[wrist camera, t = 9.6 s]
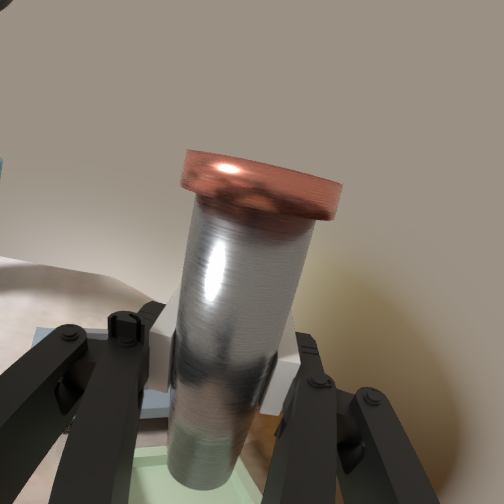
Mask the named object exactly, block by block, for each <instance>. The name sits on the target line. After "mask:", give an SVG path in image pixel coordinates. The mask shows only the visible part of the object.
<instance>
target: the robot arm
mask: <svg viewBox="0 0 504 504" xmlns="http://www.w3.org/2000/svg"><path fill="white" fill-rule="evenodd" d="M12 2H13V0H0V14H1V13H2V12H3V11H5V10H6V9H7V8H8V7H9V6H10V5H11V4H12ZM2 164H3V160H2V159H1V158H0V177H1V170H2ZM180 289H181V284H180V285H179V287H178V288H177V290H176V291H175V293H174V294H173V296H172V297H171V299H170V300H169V302H168V303H167V305H166V304H162V303H158V302H155V301H151V302H149V303H147V304H144V305H143V306H142V308H141V309H140V310H139V312H138V313H134V312H130V311H118V312H115V313H112V314H111V315H110V316H109V317H108V339H107V340H98V339H90V338H87V333H86V331H85V330H84V329H83V328H82V327H80V326H78V325H74V324H65V325H61V326H59V327H57V328H56V329H54V330H53V331H52V332H51V333H49V334H48V335H47V336H46V337H44V338H43V339H42V340H41V341H40V342H38V343H37V344H36V345H35V346H34V347H32V348H31V349H30V350H29V351H28V352H26V353H25V354H24V355H23V356H22V357H21V358H19V359H18V360H17V361H16V362H15V363H14V364H12V365H11V366H10V367H9V368H8V369H7V370H6V371H4V372H3V373H2V374H1V375H0V504H13V502H14V500H15V499H16V497H17V496H18V494H19V493H20V492H21V490H22V489H23V487H24V486H25V484H26V483H27V481H28V480H29V478H30V477H31V475H32V474H33V473H34V471H35V470H36V468H37V467H38V465H39V464H40V463H41V461H42V460H43V458H44V457H45V456H46V454H47V453H48V451H49V450H50V449H51V447H52V446H53V445H54V443H55V442H56V440H57V439H58V438H59V436H60V435H61V434H62V432H63V431H64V430H65V428H66V427H67V426H68V424H69V423H70V422H71V420H72V419H73V418H74V416H75V418H74V421H73V424H72V426H71V429H70V432H69V435H68V438H67V441H66V444H65V447H64V450H63V453H62V456H61V459H60V463H59V466H58V469H57V473H56V476H55V480H54V483H53V487H52V491H51V495H50V499H49V503H48V504H128V500H129V490H130V482H131V473H132V466H133V458H134V451H135V445H136V438H137V432H138V426H139V420H140V415H141V409H142V404H143V398H144V386H145V384H146V382H147V380H148V388H149V389H153V390H156V391H160V392H163V393H167V392H168V389H169V387H170V384H171V373H172V361H173V350H174V340H175V331H176V321H177V313H178V305H179V297H180ZM282 407H283V417H282V419H281V421H280V424H279V426H278V428H277V430H276V432H275V434H274V436H277V437H276V442H275V446H274V451H273V455H272V460H271V464H270V468H269V473H268V477H267V481H266V485H265V489H264V493H263V497H262V501H261V504H335V492H336V474H337V477H338V481H339V485H340V489H341V492H342V497H343V500H344V504H440V503H439V501H438V499H437V497H436V494H435V492H434V490H433V488H432V486H431V484H430V482H429V479H428V477H427V475H426V473H425V471H424V469H423V467H422V465H421V463H420V461H419V459H418V457H417V455H416V453H415V451H414V449H413V447H412V445H411V443H410V441H409V439H408V437H407V435H406V433H405V431H404V429H403V427H402V425H401V423H400V421H399V419H398V417H397V416H396V414H395V412H394V410H393V408H392V406H391V404H390V402H389V401H388V399H387V397H386V396H385V395H384V394H383V393H382V392H380V391H379V390H377V389H374V388H371V387H363V388H360V389H359V390H357V392H356V394H355V395H354V394H350V393H347V392H344V391H342V390H339V389H337V388H336V386H335V383H334V381H333V379H332V378H331V377H330V376H328V375H327V374H325V373H324V370H323V366H322V363H321V359H320V356H319V352H318V350H317V344H316V341H315V340H314V339H313V338H312V337H311V335H310V334H305V333H299V332H295V330H294V324H293V319H292V313H291V309H290V313H289V316H288V319H287V322H286V325H285V328H284V332H283V335H282V338H281V341H280V344H279V347H278V350H277V353H276V356H275V359H274V362H273V365H272V368H271V371H270V374H269V377H268V379H267V382H266V385H265V388H264V391H263V394H262V396H261V399H260V402H259V413H261V414H268V415H275V416H279V414H280V412H281V409H282Z"/></svg>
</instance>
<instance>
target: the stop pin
mask: <svg viewBox="0 0 504 504" xmlns="http://www.w3.org/2000/svg"><path fill="white" fill-rule="evenodd" d="M180 186H181V187H183V188H185V189H187V190H189V191H192V192H195V193H196V195H195V201H194V207H193V212H192V218H191V224H190V229H189V235H188V241H187V248H186V254H185V261H184V267H183V275H182V282H181V289H180V297H179V305H178V313H177V321H176V331H175V340H174V350H173V361H172V373H171V385H170V400H169V417H168V440H167V467H168V470H169V472H170V474H171V475H172V477H173V478H174V479H175V480H176V481H177V482H179V483H180V484H181V485H183V486H185V487H187V488H190V489H193V490H199V491H208V490H213V489H217V488H219V487H221V486H223V485H224V484H225V483H226V482H227V481H228V480H229V478H230V477H231V474H232V472H233V470H234V467H235V465H236V462H237V460H238V457H239V455H240V452H241V450H242V447H243V445H244V442H245V439H246V437H247V434H248V432H249V429H250V426H251V424H252V421H253V418H254V416H255V413H256V410H257V408H258V405H259V402H260V399H261V396H262V394H263V391H264V388H265V385H266V382H267V379H268V377H269V374H270V371H271V368H272V365H273V362H274V359H275V356H276V353H277V350H278V347H279V344H280V341H281V338H282V335H283V332H284V328H285V325H286V322H287V319H288V316H289V313H290V309H291V306H292V303H293V300H294V296H295V293H296V290H297V286H298V283H299V279H300V276H301V273H302V269H303V266H304V262H305V258H306V255H307V251H308V248H309V244H310V240H311V237H312V233H313V229H314V226H315V222H316V220H324V221H330V220H334V218H335V215H336V211H337V207H338V203H339V199H340V196H341V192H342V187H343V185H342V184H340V183H337V182H334V181H331V180H327V179H324V178H320V177H316V176H313V175H309V174H306V173H302V172H298V171H294V170H290V169H286V168H282V167H278V166H274V165H269V164H265V163H260V162H256V161H251V160H246V159H241V158H236V157H231V156H226V155H220V154H214V153H208V152H202V151H195V150H187V151H186V156H185V160H184V166H183V170H182V176H181V181H180Z"/></svg>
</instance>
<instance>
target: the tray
mask: <svg viewBox="0 0 504 504" xmlns="http://www.w3.org/2000/svg"><path fill="white" fill-rule="evenodd" d="M262 497H263V496H262V494H261V492H260V491H259V489H258V488H257V486H256V484H255V483H254V481H253V479H252V478H251V476H250V474H249V473H248V471H247V469H246V467H245V466H244V464H243V462H242V460H241V459H240V457H238V460H237V462H236V465H235V467H234V470H233V472H232V474H231V477H230V478H229V480H228V481H227V482H226V483H225V484H224V485H223V486H221V487H219V488H217V489H213V490H208V491H199V490H193V489H190V488H187V487H185V486H183V485H181V484H180V483H179V482H177V481H176V480H175V479H174V478H173V477H172V475H171V474H170V472H169V470H168V467H167V446H157V447H144V448H135V451H134V458H133V466H132V473H131V482H130V490H129V500H128V504H261V501H262Z"/></svg>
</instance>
